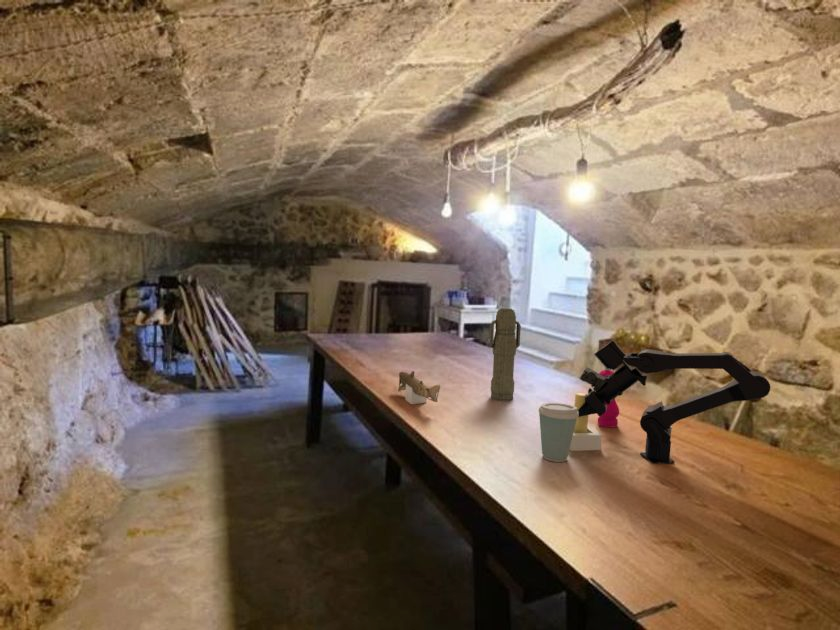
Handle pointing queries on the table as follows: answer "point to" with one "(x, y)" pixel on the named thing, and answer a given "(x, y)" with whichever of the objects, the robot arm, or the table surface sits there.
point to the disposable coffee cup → (557, 430)
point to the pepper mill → (609, 408)
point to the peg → (583, 420)
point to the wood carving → (416, 389)
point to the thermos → (504, 353)
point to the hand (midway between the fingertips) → (576, 413)
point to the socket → (586, 440)
